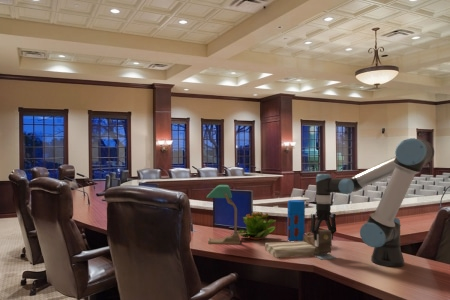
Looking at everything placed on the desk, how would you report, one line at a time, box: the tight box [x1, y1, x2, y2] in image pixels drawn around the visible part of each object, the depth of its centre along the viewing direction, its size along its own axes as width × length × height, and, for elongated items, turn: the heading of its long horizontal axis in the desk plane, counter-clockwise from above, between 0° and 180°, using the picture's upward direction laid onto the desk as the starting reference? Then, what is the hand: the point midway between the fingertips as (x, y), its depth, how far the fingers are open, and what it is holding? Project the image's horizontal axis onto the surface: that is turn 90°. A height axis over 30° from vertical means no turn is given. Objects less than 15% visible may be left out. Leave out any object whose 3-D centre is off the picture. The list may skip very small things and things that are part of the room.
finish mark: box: [313, 253, 337, 260], centre depth 188 cm, size 8×9×1 cm
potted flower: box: [237, 212, 276, 241], centre depth 232 cm, size 25×24×18 cm
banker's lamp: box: [206, 184, 241, 245], centre depth 219 cm, size 16×21×35 cm
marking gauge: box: [303, 228, 332, 254], centre depth 197 cm, size 21×7×12 cm, turn 15°
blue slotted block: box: [287, 199, 306, 242], centre depth 227 cm, size 11×11×25 cm
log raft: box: [264, 241, 329, 259], centre depth 197 cm, size 16×30×4 cm, turn 104°
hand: (323, 245), depth 190 cm, fingers closed on marking gauge, 7 cm apart
